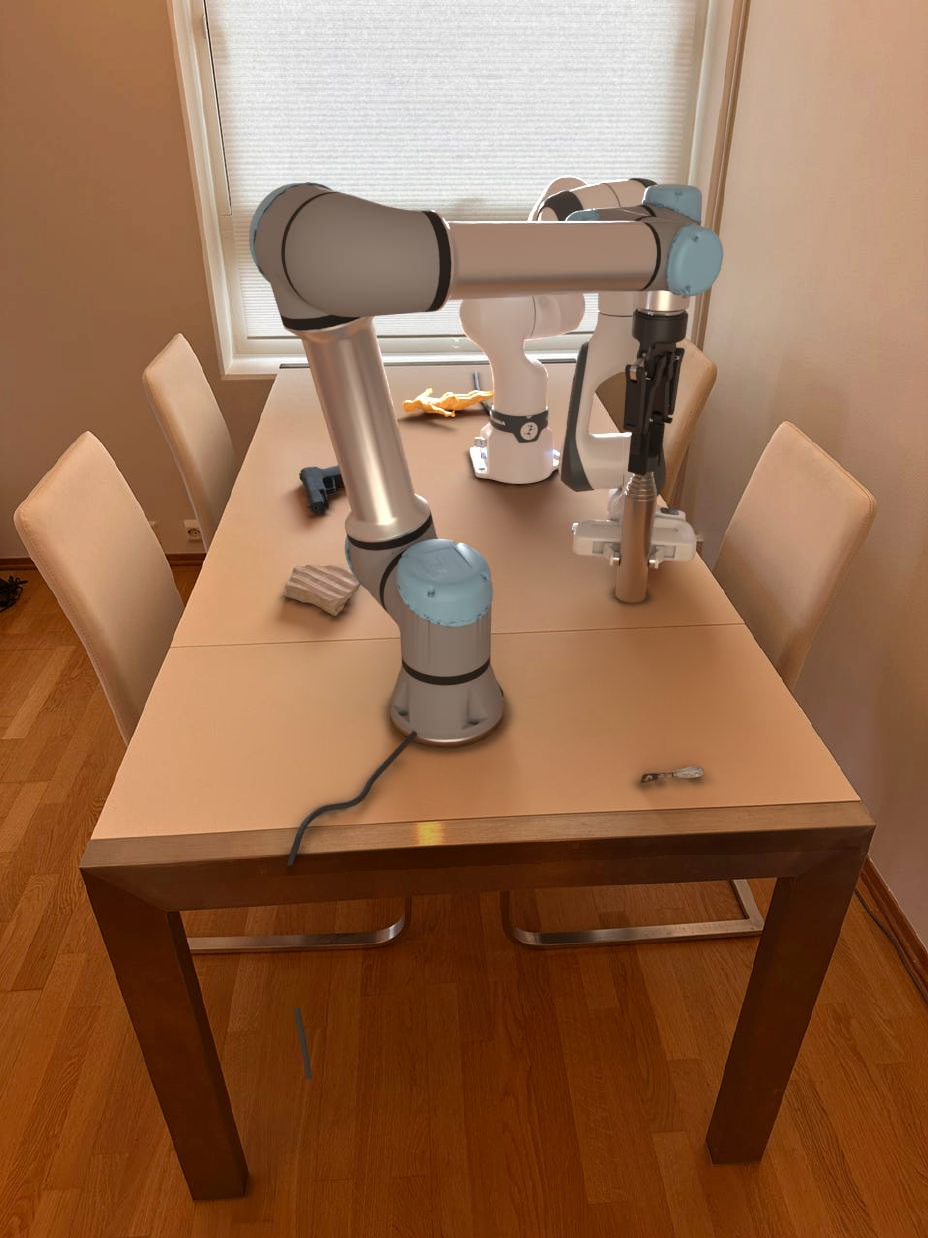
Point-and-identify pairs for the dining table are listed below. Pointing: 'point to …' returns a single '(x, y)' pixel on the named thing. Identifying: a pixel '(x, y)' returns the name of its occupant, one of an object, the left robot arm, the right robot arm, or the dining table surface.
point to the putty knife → (674, 774)
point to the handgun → (320, 486)
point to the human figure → (445, 402)
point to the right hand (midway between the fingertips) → (634, 563)
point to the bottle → (636, 538)
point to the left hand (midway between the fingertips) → (644, 468)
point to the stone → (322, 586)
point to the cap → (652, 461)
